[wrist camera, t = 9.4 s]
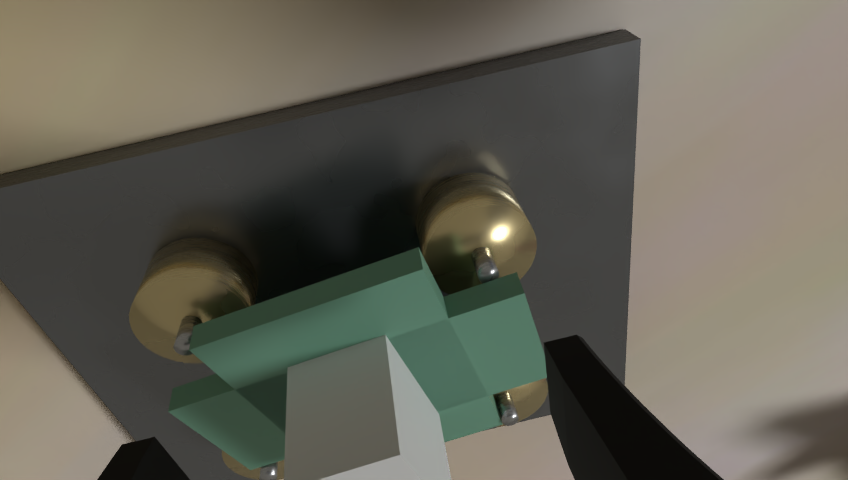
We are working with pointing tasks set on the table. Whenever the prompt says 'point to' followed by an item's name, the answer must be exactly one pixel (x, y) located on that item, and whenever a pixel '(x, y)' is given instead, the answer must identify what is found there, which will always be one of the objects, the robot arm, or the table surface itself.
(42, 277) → the chassis
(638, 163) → the table surface
